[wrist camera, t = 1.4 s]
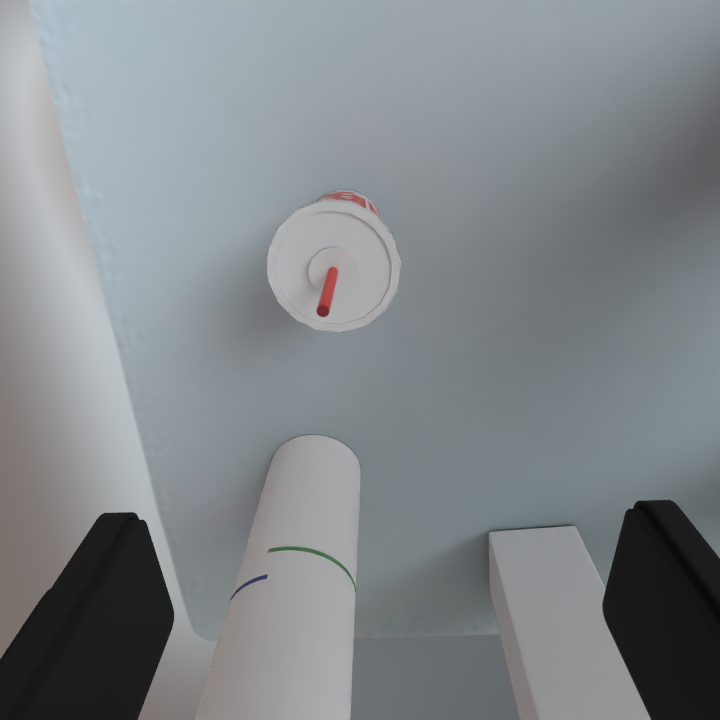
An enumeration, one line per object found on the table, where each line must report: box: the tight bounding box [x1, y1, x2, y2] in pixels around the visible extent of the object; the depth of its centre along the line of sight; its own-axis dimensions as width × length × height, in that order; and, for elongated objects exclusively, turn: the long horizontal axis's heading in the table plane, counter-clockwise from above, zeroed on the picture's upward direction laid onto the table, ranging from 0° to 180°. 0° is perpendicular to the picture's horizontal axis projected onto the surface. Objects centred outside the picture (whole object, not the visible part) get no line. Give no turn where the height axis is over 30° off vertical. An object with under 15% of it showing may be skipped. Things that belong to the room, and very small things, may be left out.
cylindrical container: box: [195, 435, 361, 720], centre depth 28 cm, size 7×7×25 cm
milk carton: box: [489, 526, 651, 720], centre depth 34 cm, size 7×7×19 cm
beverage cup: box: [267, 189, 401, 332], centre depth 24 cm, size 6×6×14 cm
